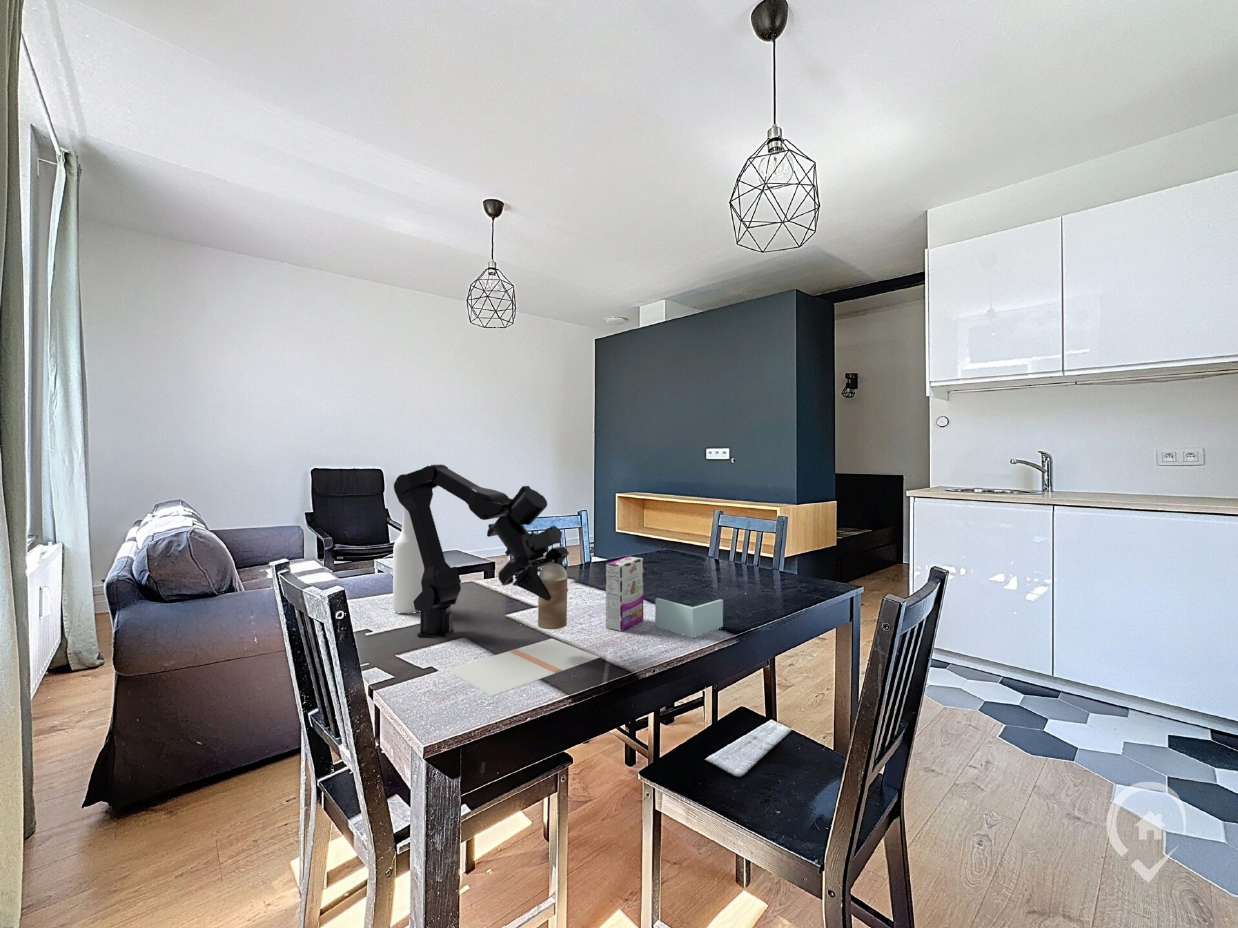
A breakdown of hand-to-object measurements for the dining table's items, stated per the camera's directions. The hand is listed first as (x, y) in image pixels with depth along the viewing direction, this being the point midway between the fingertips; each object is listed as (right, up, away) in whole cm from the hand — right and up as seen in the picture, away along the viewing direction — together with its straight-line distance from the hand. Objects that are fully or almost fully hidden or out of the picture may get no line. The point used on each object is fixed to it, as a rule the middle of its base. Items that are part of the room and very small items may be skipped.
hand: (558, 595), depth 113 cm
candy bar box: (+14, -13, +24) cm, 31 cm away
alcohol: (-44, -13, +35) cm, 58 cm away
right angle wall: (+30, -14, +23) cm, 41 cm away
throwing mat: (-6, -13, -4) cm, 15 cm away
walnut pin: (-1, -6, +1) cm, 6 cm away
